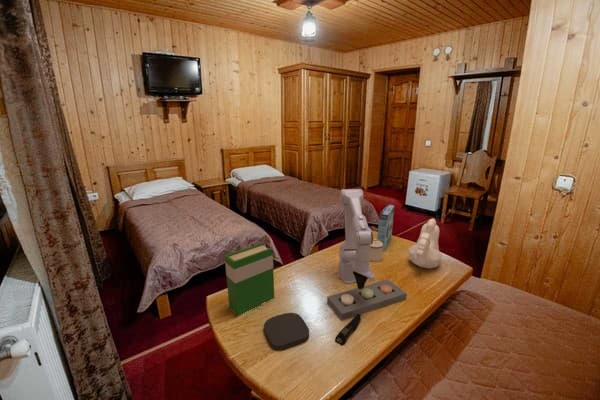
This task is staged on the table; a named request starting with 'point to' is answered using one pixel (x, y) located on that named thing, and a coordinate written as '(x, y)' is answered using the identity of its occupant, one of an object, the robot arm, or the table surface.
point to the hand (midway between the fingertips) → (360, 288)
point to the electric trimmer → (347, 330)
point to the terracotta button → (386, 289)
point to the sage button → (367, 293)
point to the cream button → (347, 299)
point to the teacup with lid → (376, 250)
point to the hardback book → (249, 277)
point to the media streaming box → (286, 331)
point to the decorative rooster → (426, 247)
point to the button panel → (366, 305)
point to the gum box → (385, 225)
